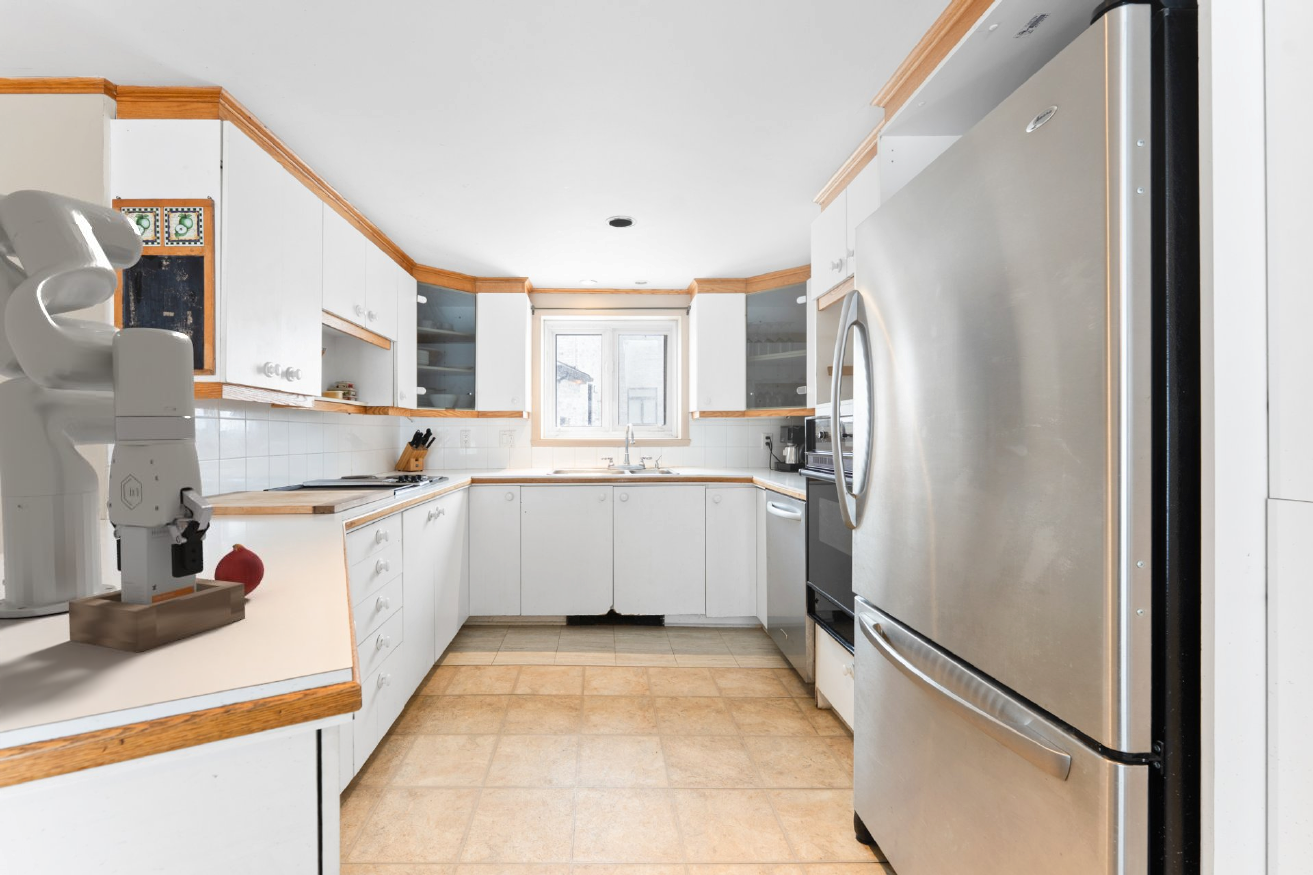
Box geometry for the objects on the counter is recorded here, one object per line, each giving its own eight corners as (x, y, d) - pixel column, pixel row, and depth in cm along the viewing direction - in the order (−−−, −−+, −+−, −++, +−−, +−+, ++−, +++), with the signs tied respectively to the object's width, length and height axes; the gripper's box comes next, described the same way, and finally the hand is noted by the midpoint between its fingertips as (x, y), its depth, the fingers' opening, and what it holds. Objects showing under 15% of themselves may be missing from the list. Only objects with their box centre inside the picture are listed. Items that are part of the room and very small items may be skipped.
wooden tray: (69, 640, 69) (68, 601, 69) (180, 609, 81) (179, 576, 81) (138, 652, 66) (137, 611, 65) (245, 618, 77) (244, 583, 77)
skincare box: (147, 630, 70) (144, 528, 69) (120, 627, 71) (117, 526, 70) (199, 613, 76) (197, 519, 75) (173, 611, 77) (171, 518, 76)
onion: (241, 591, 89) (240, 538, 89) (274, 594, 88) (273, 540, 87) (204, 603, 83) (203, 546, 83) (239, 606, 82) (237, 548, 82)
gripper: (72, 432, 72) (77, 574, 72) (171, 432, 66) (175, 586, 67) (143, 431, 79) (147, 560, 79) (238, 431, 73) (241, 570, 74)
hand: (160, 571), depth 73 cm, fingers open, 9 cm apart
